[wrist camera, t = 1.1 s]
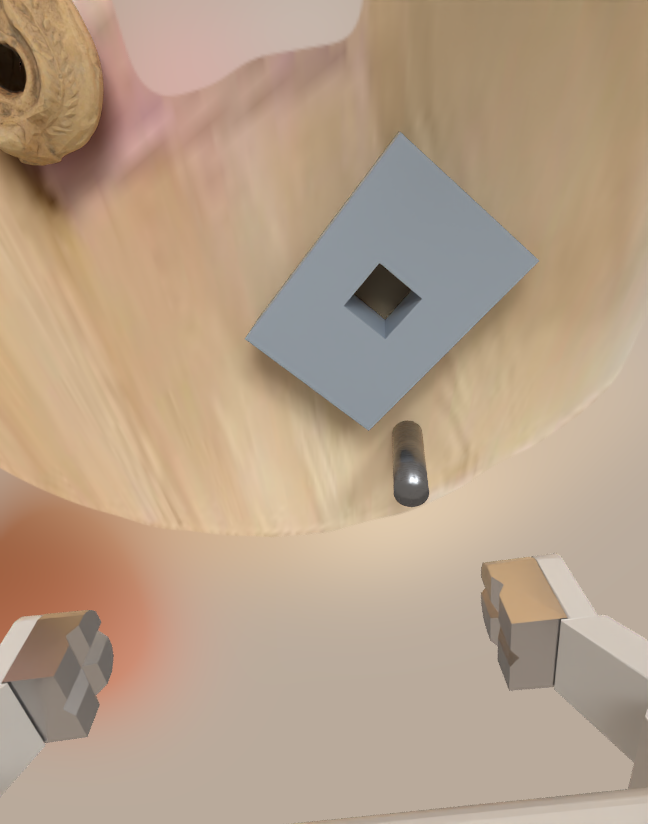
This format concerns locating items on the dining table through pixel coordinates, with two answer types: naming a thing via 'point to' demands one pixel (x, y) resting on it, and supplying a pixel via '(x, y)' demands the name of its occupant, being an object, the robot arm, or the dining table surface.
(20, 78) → the oil lamp
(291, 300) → the hole block
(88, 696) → the robot arm
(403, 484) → the peg
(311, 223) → the dining table surface
